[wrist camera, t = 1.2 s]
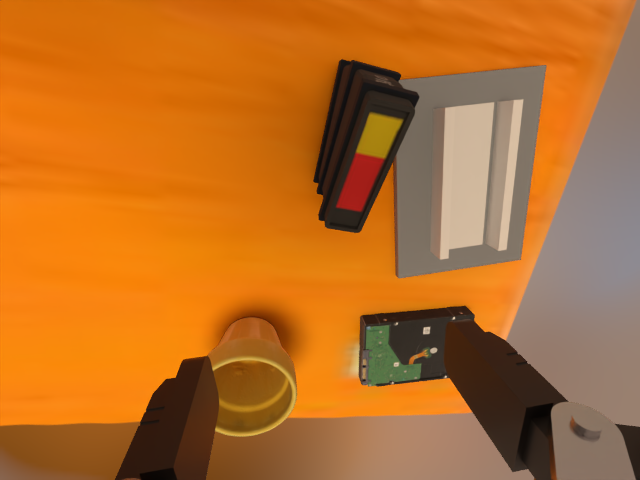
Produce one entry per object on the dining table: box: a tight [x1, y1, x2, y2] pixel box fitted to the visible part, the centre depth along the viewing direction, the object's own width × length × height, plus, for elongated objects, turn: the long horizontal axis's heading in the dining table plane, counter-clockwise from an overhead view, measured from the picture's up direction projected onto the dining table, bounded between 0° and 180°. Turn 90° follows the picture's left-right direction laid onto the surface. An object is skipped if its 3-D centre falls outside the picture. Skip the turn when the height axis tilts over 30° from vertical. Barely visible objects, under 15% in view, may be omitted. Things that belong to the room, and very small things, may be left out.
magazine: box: [314, 59, 420, 233], centre depth 29 cm, size 4×13×15 cm, turn 168°
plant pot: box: [207, 317, 297, 436], centre depth 37 cm, size 10×10×10 cm
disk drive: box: [359, 306, 475, 386], centre depth 44 cm, size 10×3×15 cm
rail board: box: [393, 65, 546, 278], centre depth 36 cm, size 22×16×4 cm
